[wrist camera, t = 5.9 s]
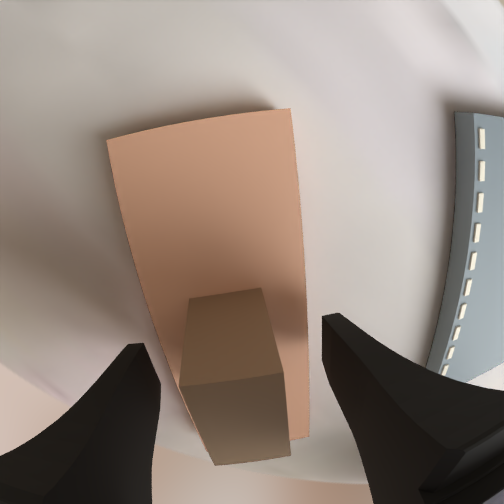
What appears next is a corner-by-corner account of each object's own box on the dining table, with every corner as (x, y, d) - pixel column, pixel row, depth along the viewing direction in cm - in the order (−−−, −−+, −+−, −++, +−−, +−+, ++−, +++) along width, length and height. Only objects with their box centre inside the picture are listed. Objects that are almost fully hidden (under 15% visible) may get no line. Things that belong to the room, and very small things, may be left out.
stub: (305, 422, 15) (326, 499, 10) (206, 437, 15) (208, 516, 10) (283, 110, 9) (342, 95, 5) (116, 138, 9) (34, 152, 4)
